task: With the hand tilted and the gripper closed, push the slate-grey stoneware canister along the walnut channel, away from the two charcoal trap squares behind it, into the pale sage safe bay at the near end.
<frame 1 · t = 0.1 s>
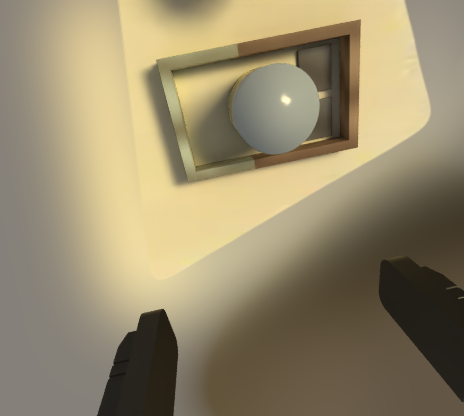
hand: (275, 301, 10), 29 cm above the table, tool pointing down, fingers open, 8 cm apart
slate stoneware canister: (269, 108, 32), in the trap channel
trap channel: (262, 106, 35), on the table
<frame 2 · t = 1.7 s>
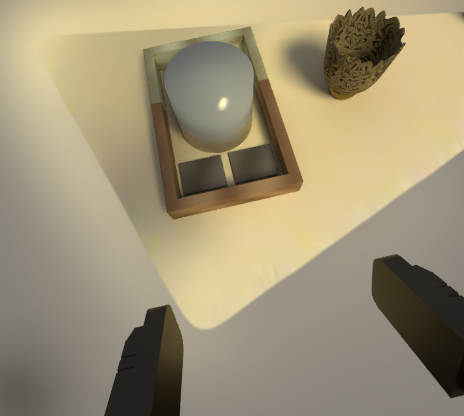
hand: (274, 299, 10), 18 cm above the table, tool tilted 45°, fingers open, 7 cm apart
slate stoneware canister: (212, 101, 31), in the trap channel
cup: (341, 91, 35), on the table
trap channel: (216, 121, 34), on the table
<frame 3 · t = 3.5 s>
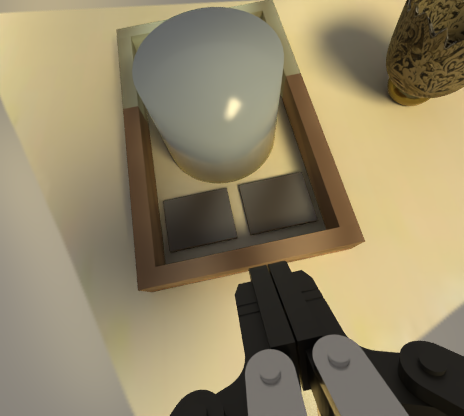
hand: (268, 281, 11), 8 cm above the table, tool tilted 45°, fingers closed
slate stoneware canister: (215, 104, 19), in the trap channel
cup: (404, 94, 24), on the table
trap channel: (221, 135, 23), on the table
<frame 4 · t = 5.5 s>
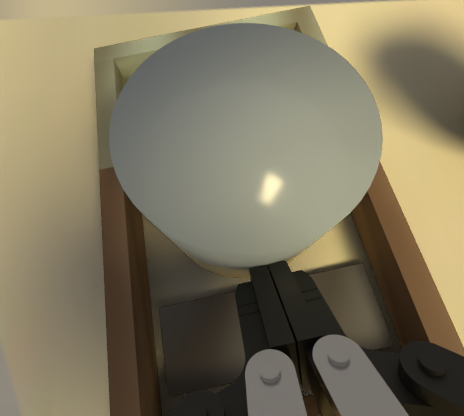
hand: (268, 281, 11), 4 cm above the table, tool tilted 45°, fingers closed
slate stoneware canister: (242, 171, 13), in the trap channel, touching gripper
trap channel: (241, 200, 16), on the table
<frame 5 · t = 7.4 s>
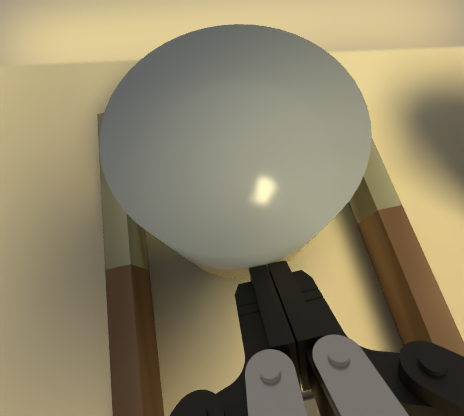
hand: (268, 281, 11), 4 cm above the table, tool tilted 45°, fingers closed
slate stoneware canister: (236, 172, 13), in the trap channel, touching gripper
trap channel: (264, 292, 14), on the table
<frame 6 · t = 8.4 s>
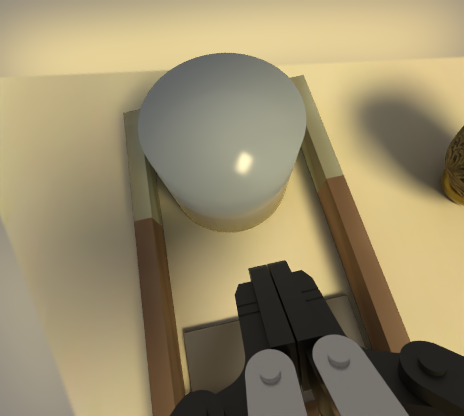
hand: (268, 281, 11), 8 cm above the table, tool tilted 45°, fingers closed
slate stoneware canister: (226, 152, 18), in the trap channel
cup: (459, 187, 20), on the table
trap channel: (248, 241, 20), on the table
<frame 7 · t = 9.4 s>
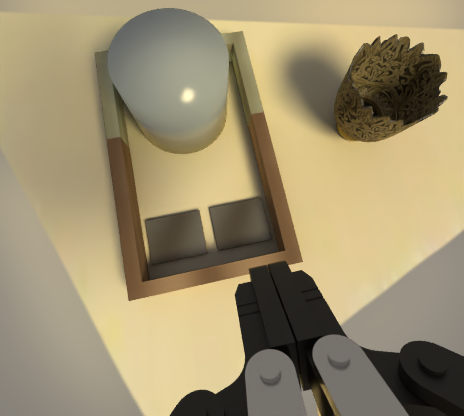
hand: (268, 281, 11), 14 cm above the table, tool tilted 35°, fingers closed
slate stoneware canister: (176, 89, 24), in the trap channel
cup: (349, 128, 28), on the table
trap channel: (194, 160, 27), on the table
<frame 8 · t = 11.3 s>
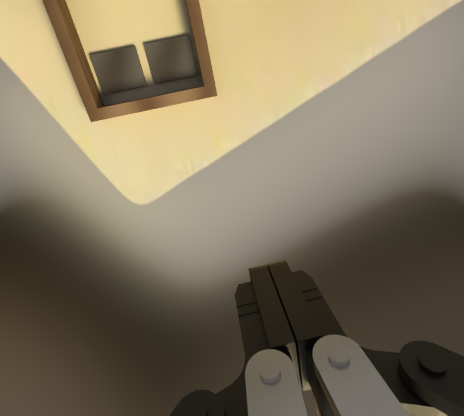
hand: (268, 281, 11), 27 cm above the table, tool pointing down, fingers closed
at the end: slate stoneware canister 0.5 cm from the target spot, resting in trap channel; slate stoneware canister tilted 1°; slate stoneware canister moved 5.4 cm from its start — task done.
